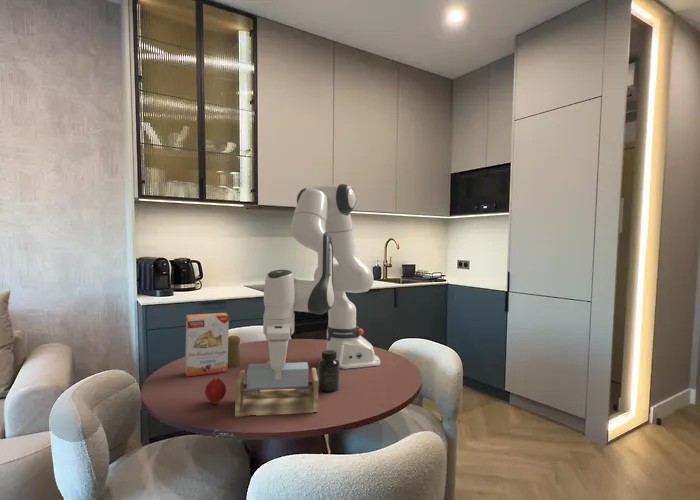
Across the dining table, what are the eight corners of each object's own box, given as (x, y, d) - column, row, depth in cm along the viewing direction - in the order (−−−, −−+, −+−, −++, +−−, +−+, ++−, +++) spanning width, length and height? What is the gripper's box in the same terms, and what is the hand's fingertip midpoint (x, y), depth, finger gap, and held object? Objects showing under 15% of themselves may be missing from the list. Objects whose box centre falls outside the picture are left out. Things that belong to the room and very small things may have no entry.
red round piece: (208, 399, 117) (208, 372, 117) (227, 399, 118) (228, 372, 117) (202, 407, 111) (202, 379, 111) (223, 407, 112) (223, 379, 112)
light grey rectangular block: (246, 388, 109) (247, 370, 109) (248, 380, 115) (249, 364, 115) (308, 386, 112) (308, 368, 112) (307, 378, 118) (307, 362, 117)
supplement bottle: (320, 384, 131) (320, 348, 131) (340, 385, 131) (341, 349, 130) (316, 391, 125) (316, 354, 124) (337, 393, 124) (338, 355, 124)
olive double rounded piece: (243, 362, 153) (243, 334, 153) (237, 367, 147) (237, 338, 146) (228, 361, 153) (228, 334, 153) (221, 366, 147) (222, 337, 147)
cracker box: (186, 377, 135) (187, 317, 135) (184, 372, 140) (185, 314, 140) (228, 372, 141) (229, 314, 141) (225, 367, 147) (226, 311, 146)
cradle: (315, 397, 120) (315, 367, 120) (317, 412, 110) (318, 380, 109) (240, 400, 117) (240, 370, 117) (235, 416, 106) (235, 383, 106)
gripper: (269, 319, 123) (268, 363, 123) (265, 335, 102) (265, 387, 103) (289, 319, 124) (289, 362, 124) (290, 334, 103) (289, 386, 104)
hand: (278, 374), depth 113 cm, fingers open, 6 cm apart
